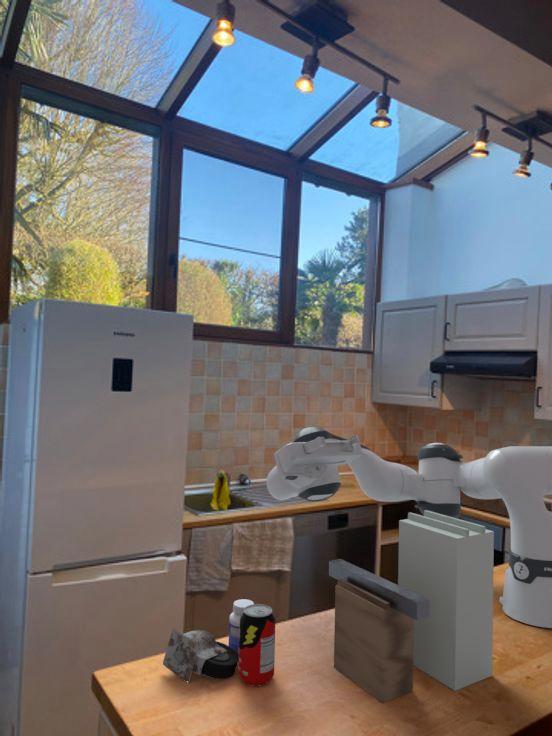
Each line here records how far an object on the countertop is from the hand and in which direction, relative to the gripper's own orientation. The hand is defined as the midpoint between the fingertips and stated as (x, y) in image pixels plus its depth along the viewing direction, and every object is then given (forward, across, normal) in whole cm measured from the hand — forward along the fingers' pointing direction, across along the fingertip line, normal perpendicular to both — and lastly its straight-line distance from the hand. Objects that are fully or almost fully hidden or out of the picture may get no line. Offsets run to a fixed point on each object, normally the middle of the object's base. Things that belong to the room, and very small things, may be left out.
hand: (340, 439), depth 118 cm
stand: (-1, -8, -46) cm, 47 cm away
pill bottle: (-20, +23, -35) cm, 47 cm away
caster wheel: (-18, +32, -36) cm, 52 cm away
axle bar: (+4, +7, -32) cm, 33 cm away
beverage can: (-12, +25, -40) cm, 49 cm away
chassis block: (-4, +7, -45) cm, 45 cm away
